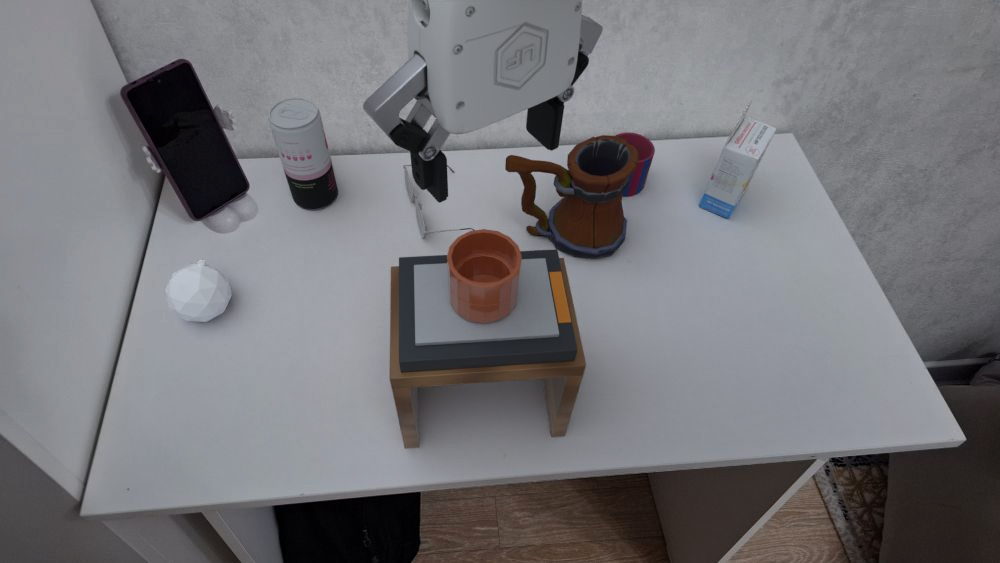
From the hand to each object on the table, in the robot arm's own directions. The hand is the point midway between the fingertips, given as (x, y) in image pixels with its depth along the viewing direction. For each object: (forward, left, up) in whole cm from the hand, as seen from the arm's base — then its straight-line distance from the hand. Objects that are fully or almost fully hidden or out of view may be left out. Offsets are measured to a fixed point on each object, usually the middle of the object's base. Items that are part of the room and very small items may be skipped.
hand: (489, 163), depth 45 cm
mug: (+14, -24, -35) cm, 45 cm away
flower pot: (0, 0, -17) cm, 17 cm away
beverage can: (+40, +2, -35) cm, 54 cm away
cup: (+18, -37, -36) cm, 54 cm away
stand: (0, 0, -35) cm, 35 cm away
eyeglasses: (+28, -12, -36) cm, 47 cm away
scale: (0, 0, -19) cm, 19 cm away
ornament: (+29, +22, -36) cm, 51 cm away
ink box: (+6, -49, -36) cm, 61 cm away
